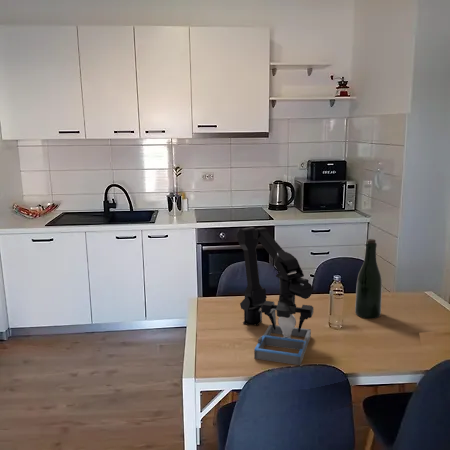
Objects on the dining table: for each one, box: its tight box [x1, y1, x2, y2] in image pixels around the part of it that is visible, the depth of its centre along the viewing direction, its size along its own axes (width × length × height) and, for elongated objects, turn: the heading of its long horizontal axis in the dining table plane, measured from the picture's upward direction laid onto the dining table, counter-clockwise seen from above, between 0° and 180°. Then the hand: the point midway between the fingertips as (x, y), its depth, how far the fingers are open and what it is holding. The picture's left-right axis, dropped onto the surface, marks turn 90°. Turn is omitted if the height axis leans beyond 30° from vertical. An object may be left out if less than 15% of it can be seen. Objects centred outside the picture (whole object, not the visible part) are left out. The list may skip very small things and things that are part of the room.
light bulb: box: [277, 314, 297, 339], centre depth 170 cm, size 7×7×11 cm
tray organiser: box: [253, 324, 312, 366], centre depth 166 cm, size 16×23×5 cm
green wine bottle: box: [354, 238, 383, 320], centre depth 191 cm, size 10×10×33 cm
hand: (286, 330), depth 170 cm, fingers open, 9 cm apart
